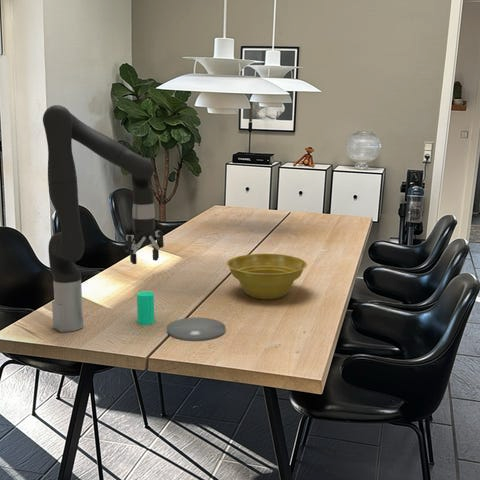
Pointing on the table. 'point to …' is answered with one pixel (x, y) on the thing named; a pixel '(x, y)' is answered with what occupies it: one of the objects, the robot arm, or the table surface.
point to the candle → (145, 307)
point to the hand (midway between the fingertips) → (144, 262)
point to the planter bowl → (266, 273)
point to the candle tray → (196, 329)
